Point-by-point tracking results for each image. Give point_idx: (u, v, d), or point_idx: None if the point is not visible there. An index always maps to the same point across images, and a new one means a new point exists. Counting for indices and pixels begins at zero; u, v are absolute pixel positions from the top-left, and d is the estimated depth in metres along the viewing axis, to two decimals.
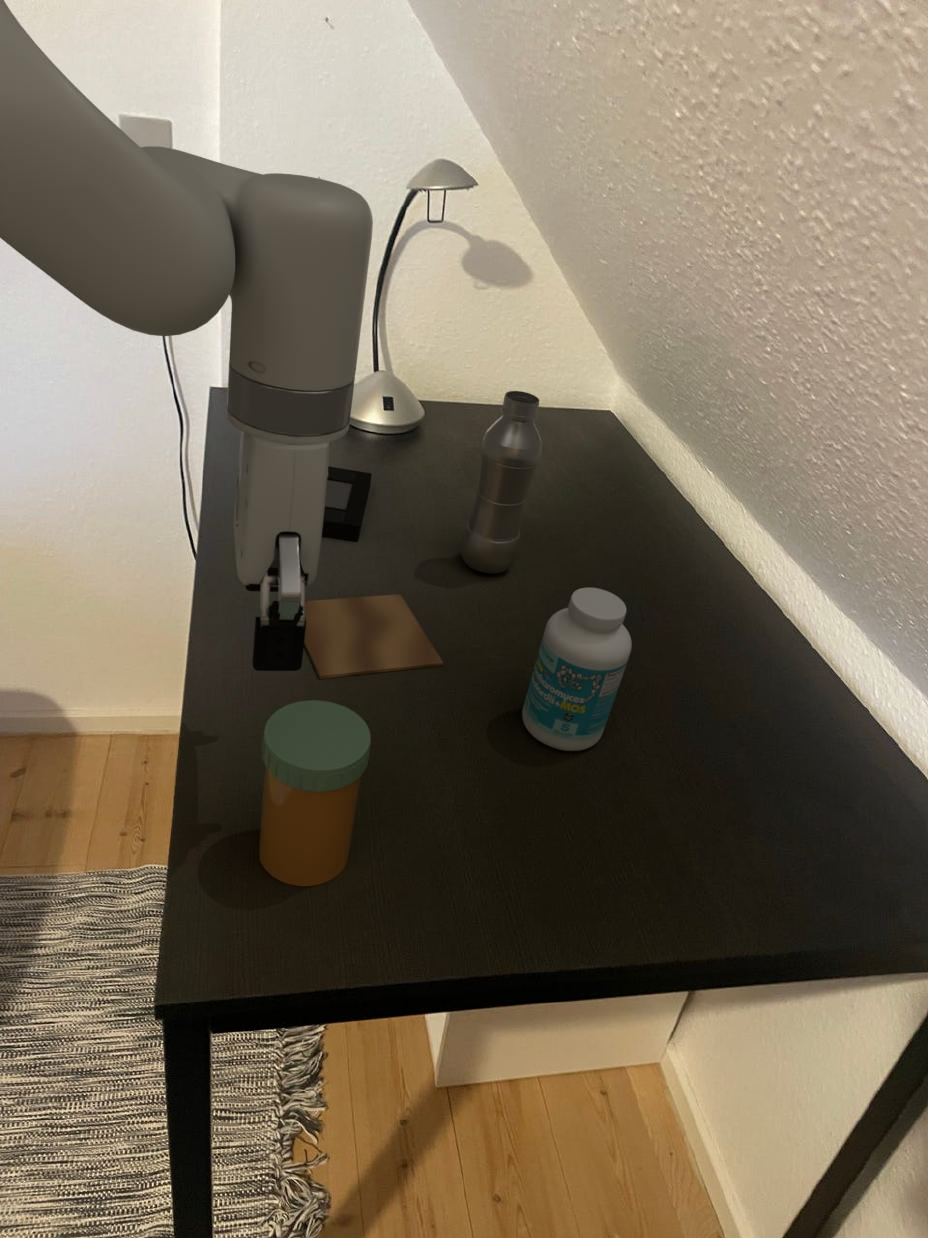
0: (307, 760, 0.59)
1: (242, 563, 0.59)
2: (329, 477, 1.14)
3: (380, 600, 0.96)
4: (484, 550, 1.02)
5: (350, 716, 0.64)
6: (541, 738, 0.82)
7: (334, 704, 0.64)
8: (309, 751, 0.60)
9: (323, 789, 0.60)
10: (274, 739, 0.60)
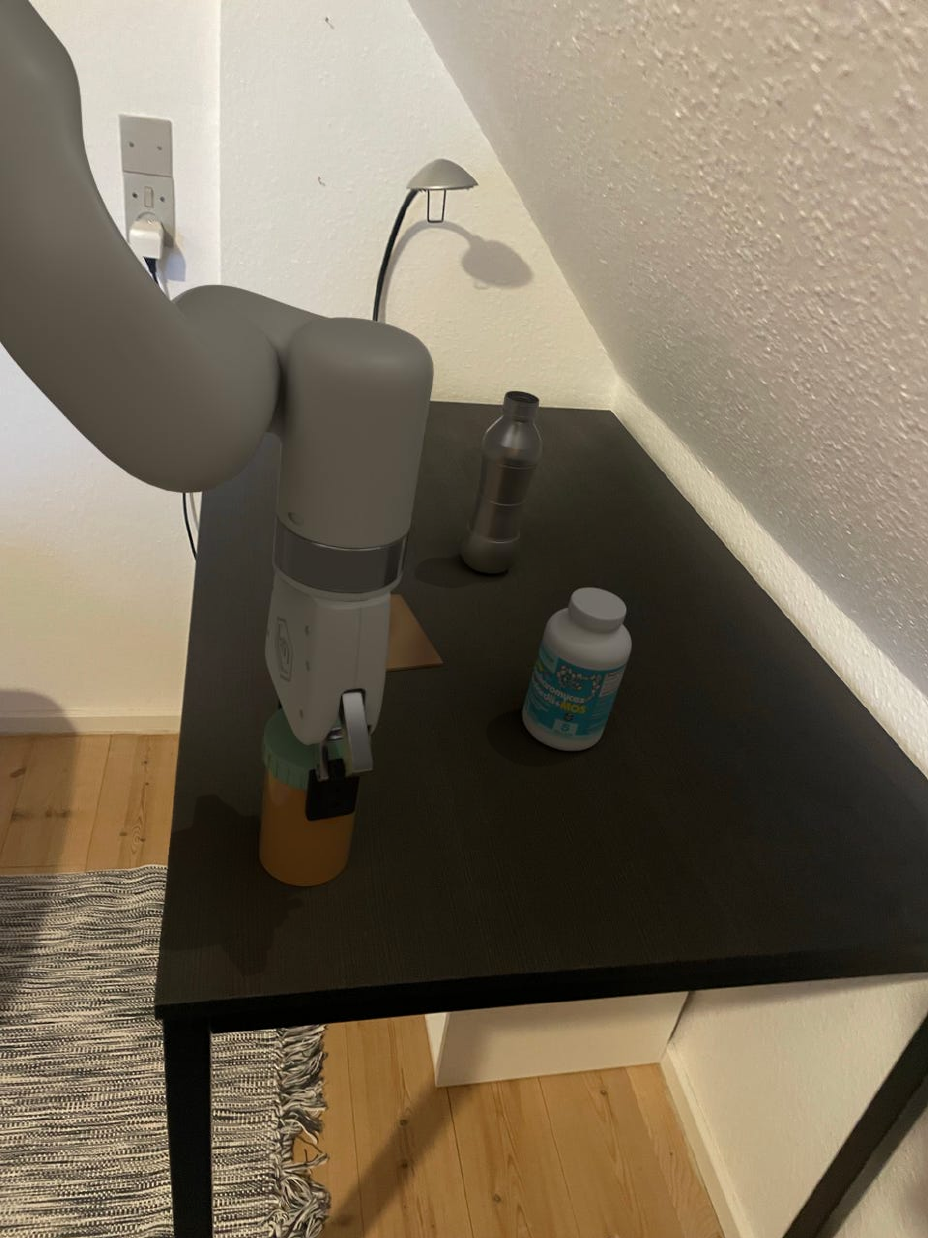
0: (307, 760, 0.59)
1: (303, 725, 0.55)
2: None
3: None
4: (484, 550, 1.02)
5: None
6: (541, 738, 0.82)
7: None
8: (309, 751, 0.60)
9: None
10: (274, 739, 0.60)
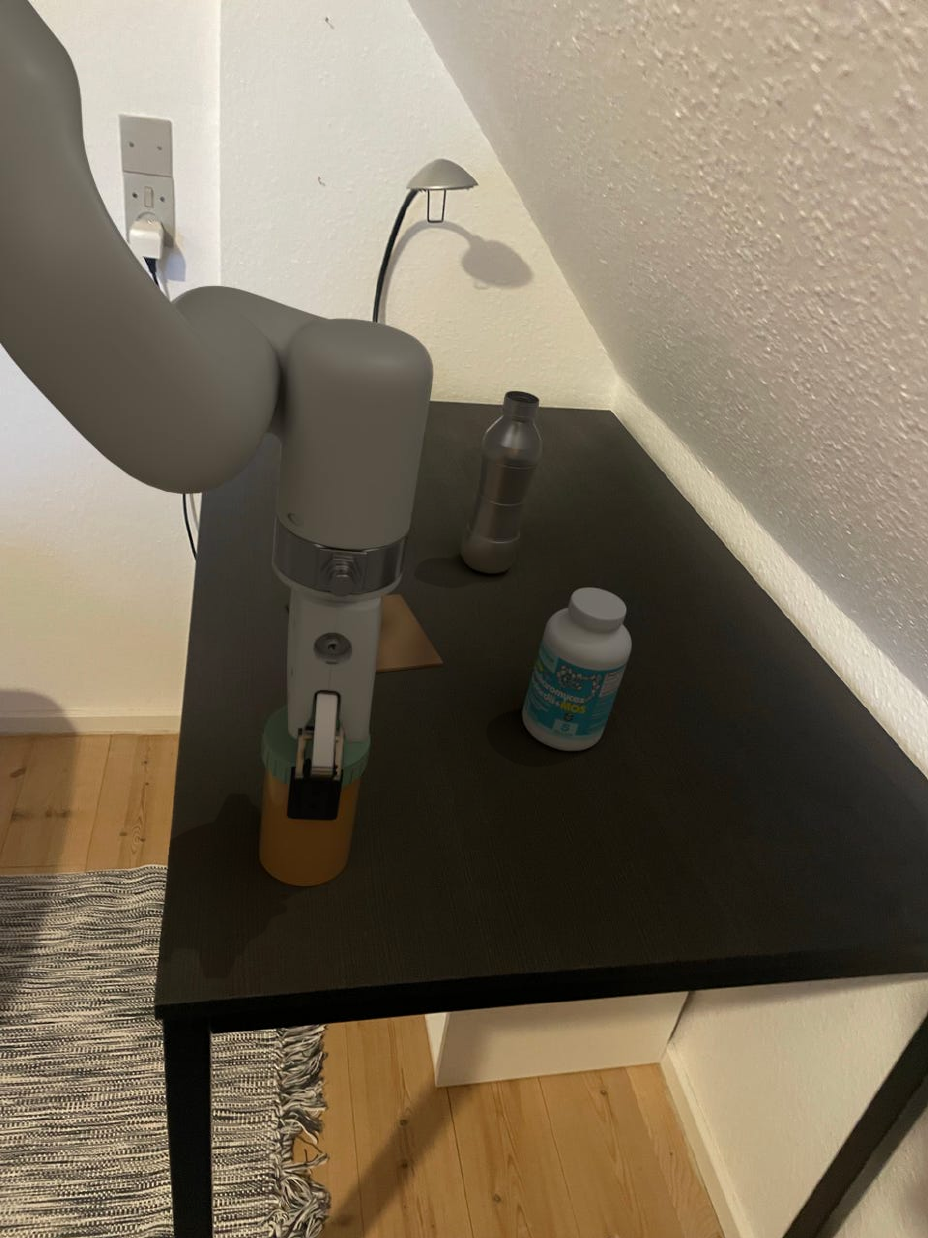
0: None
1: None
2: None
3: None
4: (484, 550, 1.02)
5: (276, 743, 0.60)
6: (541, 738, 0.82)
7: (286, 759, 0.59)
8: None
9: None
10: None
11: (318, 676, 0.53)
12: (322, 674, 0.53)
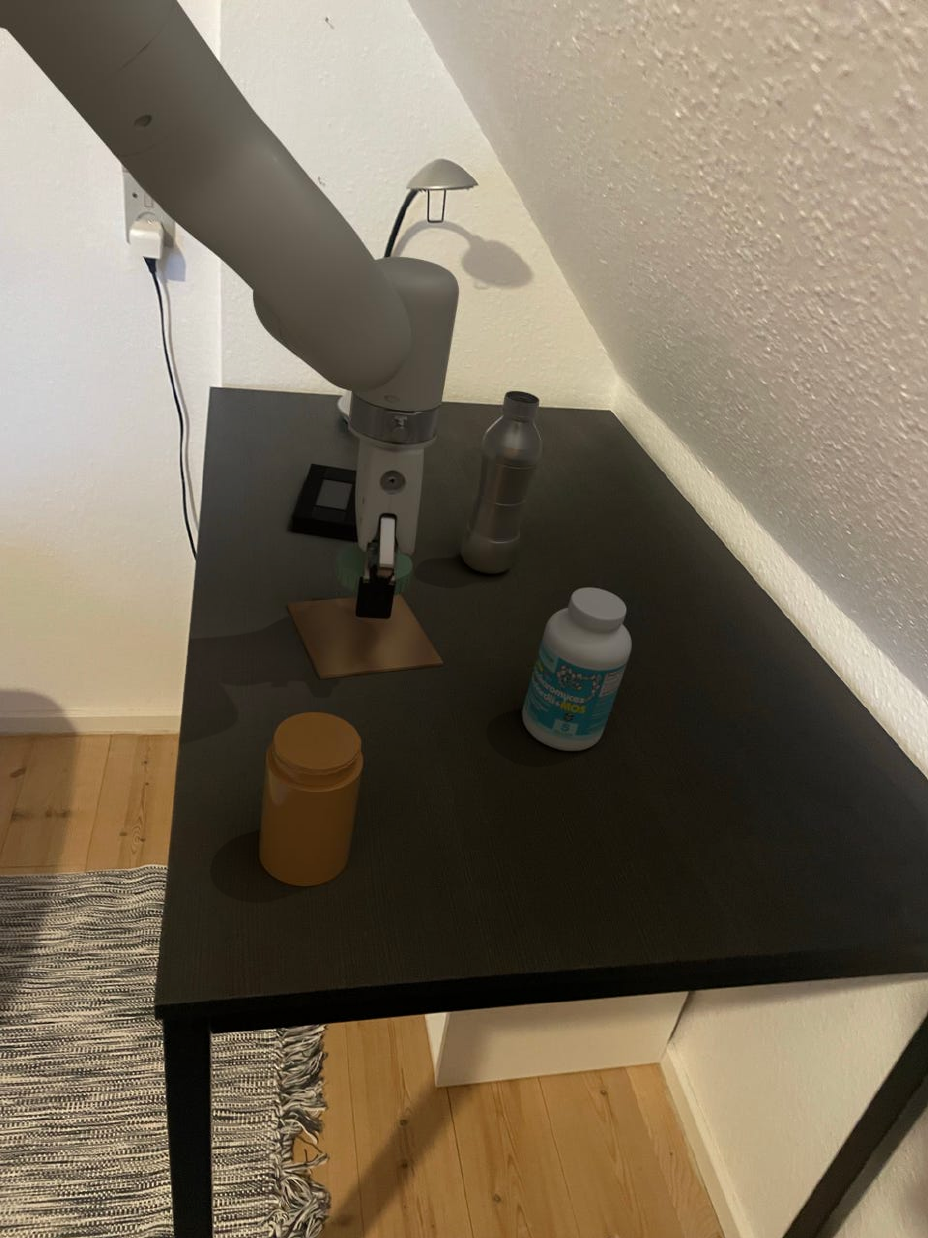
0: None
1: None
2: (329, 477, 1.14)
3: None
4: (484, 550, 1.02)
5: (347, 564, 0.85)
6: (541, 738, 0.82)
7: (356, 573, 0.84)
8: None
9: None
10: (406, 562, 0.88)
11: (382, 502, 0.78)
12: (385, 501, 0.78)
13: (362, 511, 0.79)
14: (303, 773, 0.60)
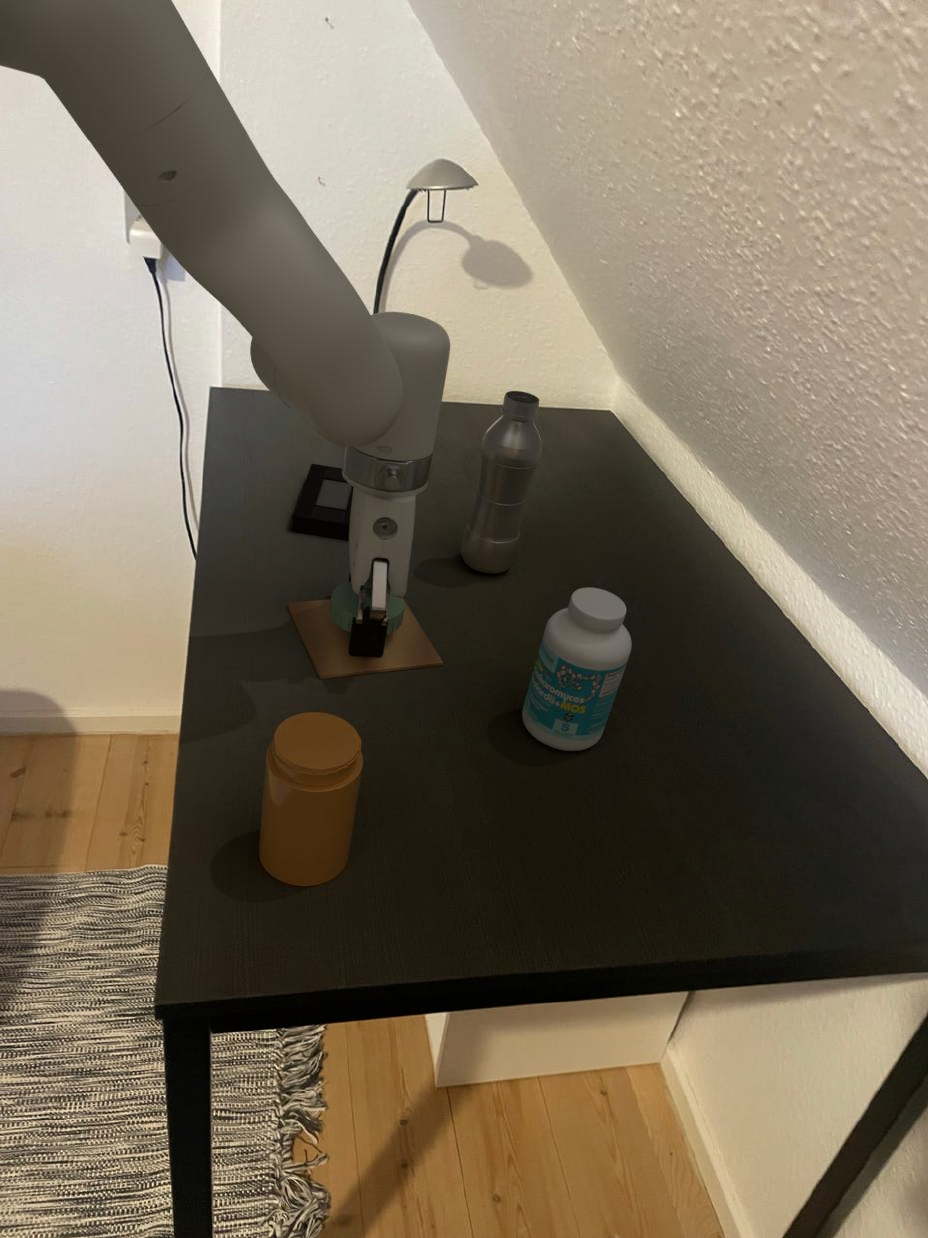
0: None
1: None
2: (329, 477, 1.14)
3: None
4: (484, 550, 1.02)
5: (341, 604, 0.87)
6: (541, 738, 0.82)
7: (349, 613, 0.86)
8: None
9: None
10: (398, 602, 0.90)
11: (375, 547, 0.80)
12: (377, 546, 0.80)
13: (355, 555, 0.81)
14: (303, 773, 0.60)
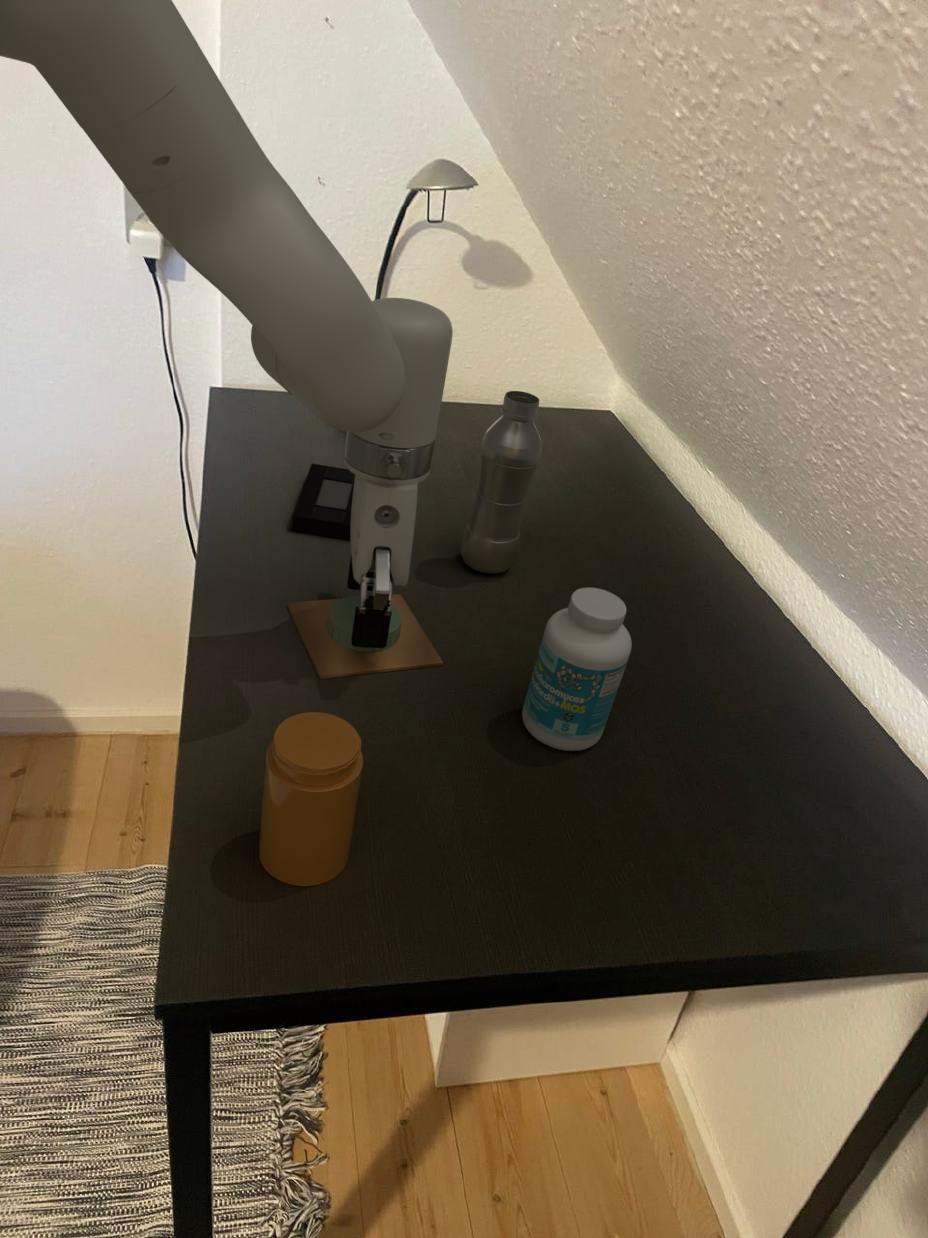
0: None
1: None
2: (329, 477, 1.14)
3: None
4: (484, 550, 1.02)
5: (338, 620, 0.89)
6: (541, 738, 0.82)
7: (346, 629, 0.88)
8: None
9: None
10: (395, 616, 0.91)
11: (377, 536, 0.80)
12: (379, 534, 0.80)
13: (357, 544, 0.81)
14: (303, 773, 0.60)
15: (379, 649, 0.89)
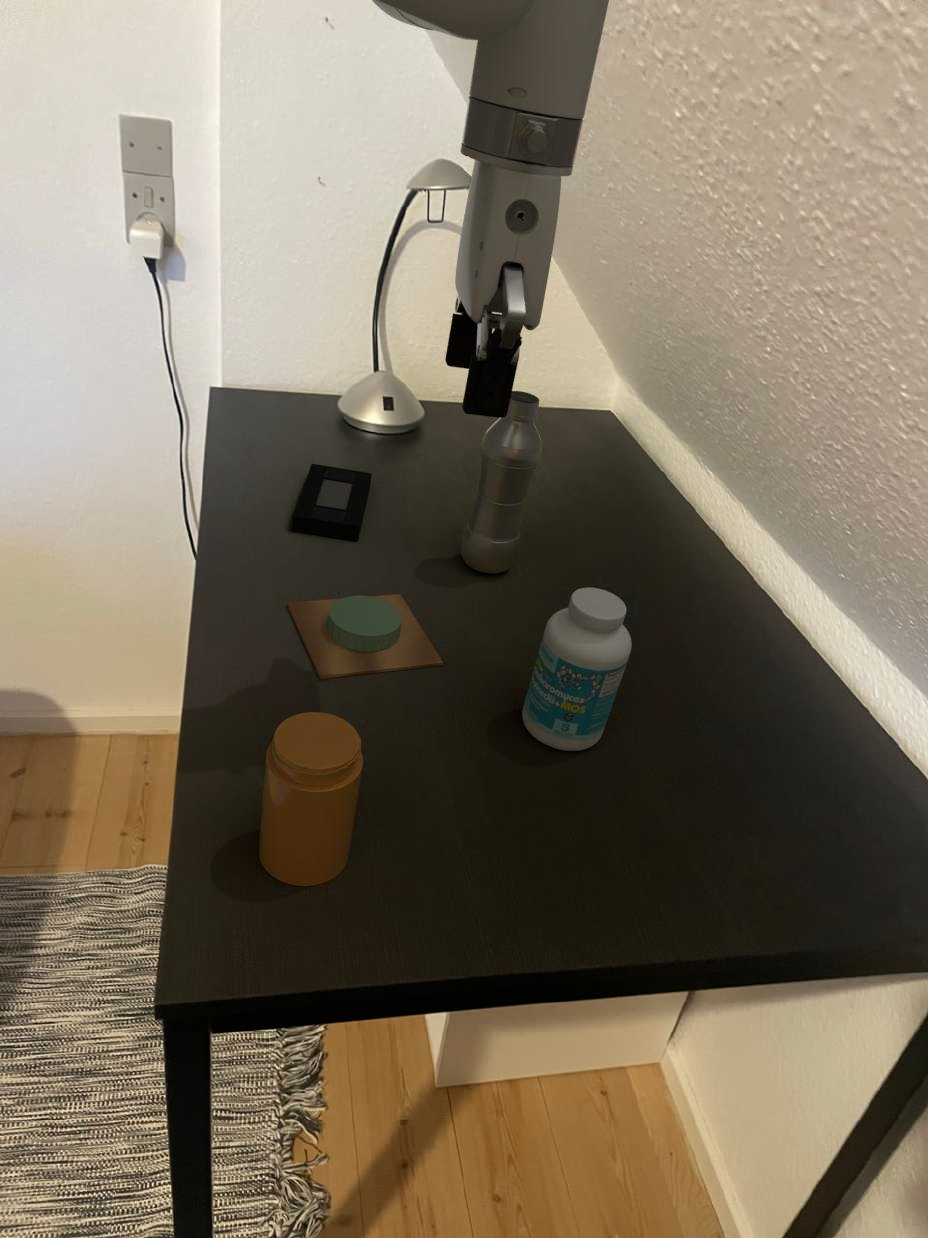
0: (378, 602, 0.92)
1: None
2: (329, 477, 1.14)
3: None
4: (484, 550, 1.02)
5: (338, 620, 0.89)
6: (541, 738, 0.82)
7: (346, 629, 0.88)
8: (375, 606, 0.92)
9: None
10: (395, 616, 0.91)
11: (507, 245, 0.61)
12: (510, 244, 0.61)
13: (479, 261, 0.62)
14: (303, 773, 0.60)
15: (379, 649, 0.89)
